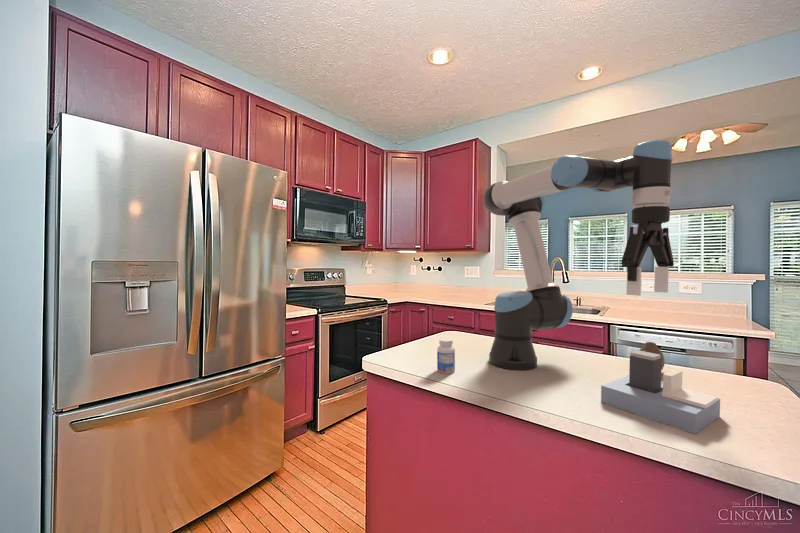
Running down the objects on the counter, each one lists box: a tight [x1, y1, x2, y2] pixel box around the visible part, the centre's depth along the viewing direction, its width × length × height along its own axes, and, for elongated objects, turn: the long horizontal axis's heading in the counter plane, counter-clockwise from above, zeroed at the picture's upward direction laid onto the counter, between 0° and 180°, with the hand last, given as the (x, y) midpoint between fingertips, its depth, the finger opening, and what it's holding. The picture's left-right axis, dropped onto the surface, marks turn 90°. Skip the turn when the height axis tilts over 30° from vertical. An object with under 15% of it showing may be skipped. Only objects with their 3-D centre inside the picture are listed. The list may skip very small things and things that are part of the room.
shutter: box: [662, 369, 719, 409], centre depth 74 cm, size 8×7×5 cm
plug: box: [628, 349, 662, 394], centre depth 82 cm, size 5×4×12 cm
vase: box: [639, 341, 666, 371], centre depth 105 cm, size 7×7×9 cm
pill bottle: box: [436, 337, 456, 375], centre depth 105 cm, size 6×5×10 cm
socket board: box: [600, 374, 721, 435], centre depth 79 cm, size 18×14×4 cm
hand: (647, 293), depth 84 cm, fingers open, 13 cm apart
